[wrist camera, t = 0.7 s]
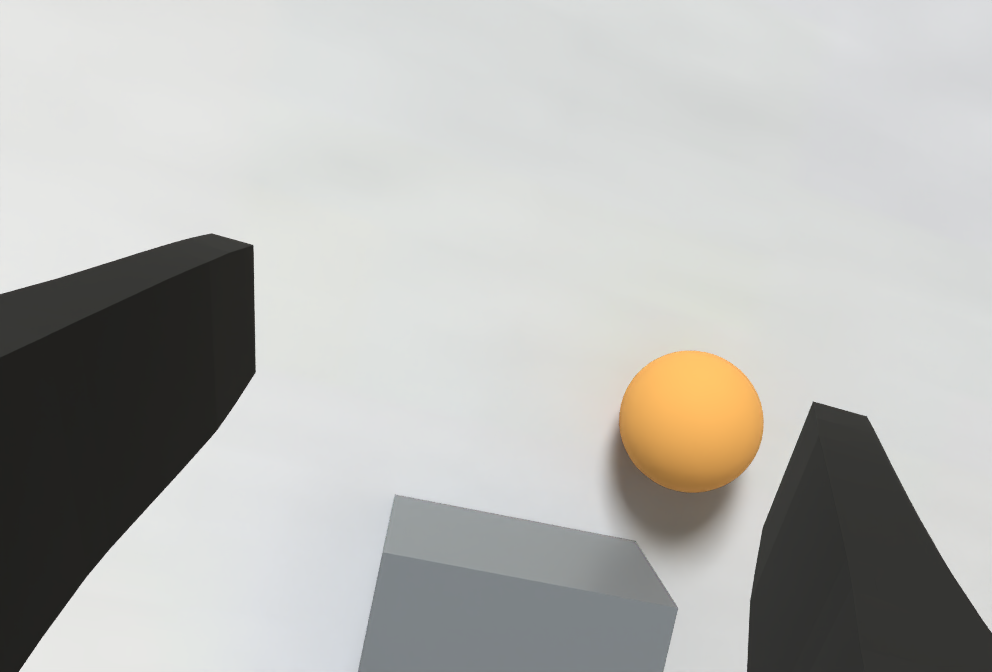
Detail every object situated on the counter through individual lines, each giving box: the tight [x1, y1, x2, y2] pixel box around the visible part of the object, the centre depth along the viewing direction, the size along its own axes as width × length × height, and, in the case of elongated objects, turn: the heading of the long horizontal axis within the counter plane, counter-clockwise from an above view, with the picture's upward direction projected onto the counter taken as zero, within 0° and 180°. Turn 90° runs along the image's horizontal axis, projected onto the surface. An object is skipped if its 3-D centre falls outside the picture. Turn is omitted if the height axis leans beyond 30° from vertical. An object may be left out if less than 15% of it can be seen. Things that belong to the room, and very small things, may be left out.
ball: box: [619, 351, 763, 493], centre depth 34 cm, size 5×5×5 cm
